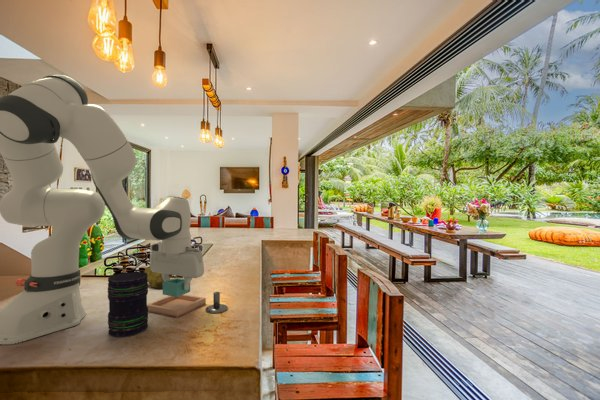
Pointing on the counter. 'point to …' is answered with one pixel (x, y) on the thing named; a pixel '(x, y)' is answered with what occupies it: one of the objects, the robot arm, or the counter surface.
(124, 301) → the storage jar
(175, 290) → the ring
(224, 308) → the grey peg stand
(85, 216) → the robot arm
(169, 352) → the counter surface
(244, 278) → the counter surface
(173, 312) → the tray
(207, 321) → the counter surface
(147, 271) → the potato
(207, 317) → the counter surface
